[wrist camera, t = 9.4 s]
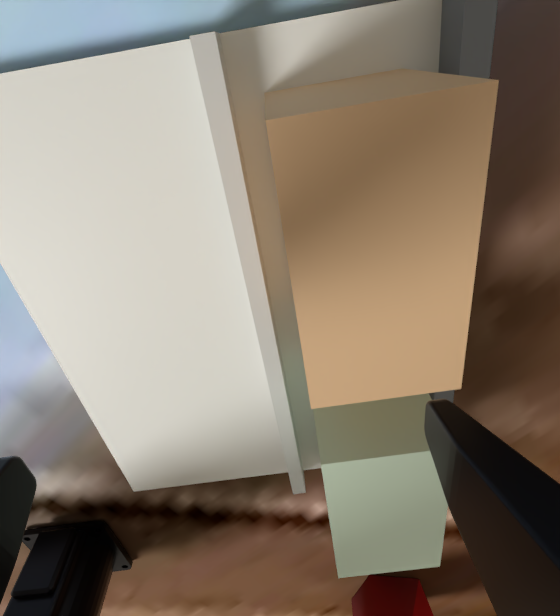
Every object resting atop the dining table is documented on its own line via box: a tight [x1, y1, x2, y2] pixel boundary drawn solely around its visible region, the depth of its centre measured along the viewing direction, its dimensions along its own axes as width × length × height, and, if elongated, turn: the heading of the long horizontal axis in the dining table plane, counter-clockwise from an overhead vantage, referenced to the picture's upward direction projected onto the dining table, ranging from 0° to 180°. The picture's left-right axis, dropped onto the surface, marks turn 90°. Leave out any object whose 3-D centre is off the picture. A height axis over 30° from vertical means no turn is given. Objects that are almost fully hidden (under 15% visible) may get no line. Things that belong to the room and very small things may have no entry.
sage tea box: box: [313, 393, 448, 578], centre depth 20 cm, size 9×5×7 cm, turn 9°
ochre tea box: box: [264, 69, 499, 409], centre depth 14 cm, size 9×5×7 cm, turn 9°
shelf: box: [0, 0, 498, 494], centre depth 20 cm, size 24×20×3 cm
